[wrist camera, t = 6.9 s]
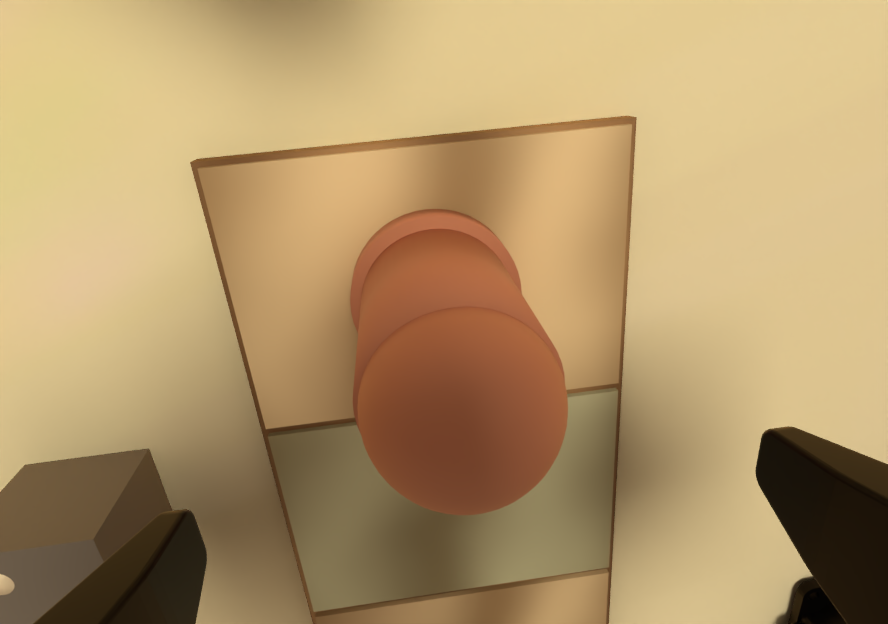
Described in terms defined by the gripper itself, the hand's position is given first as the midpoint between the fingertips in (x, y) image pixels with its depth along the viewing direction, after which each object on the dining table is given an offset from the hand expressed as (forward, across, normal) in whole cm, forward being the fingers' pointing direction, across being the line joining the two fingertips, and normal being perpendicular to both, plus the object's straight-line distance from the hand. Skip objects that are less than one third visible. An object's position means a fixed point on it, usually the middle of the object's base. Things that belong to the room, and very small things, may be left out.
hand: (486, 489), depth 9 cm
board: (+9, 0, +8) cm, 13 cm away
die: (+9, +12, +7) cm, 17 cm away
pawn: (+8, 0, 0) cm, 9 cm away
